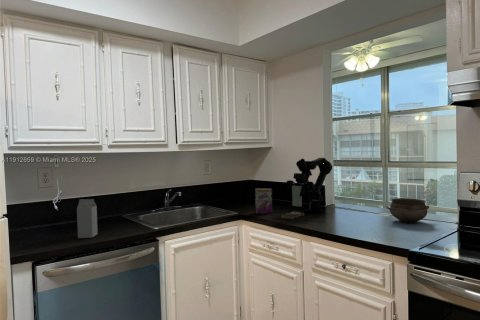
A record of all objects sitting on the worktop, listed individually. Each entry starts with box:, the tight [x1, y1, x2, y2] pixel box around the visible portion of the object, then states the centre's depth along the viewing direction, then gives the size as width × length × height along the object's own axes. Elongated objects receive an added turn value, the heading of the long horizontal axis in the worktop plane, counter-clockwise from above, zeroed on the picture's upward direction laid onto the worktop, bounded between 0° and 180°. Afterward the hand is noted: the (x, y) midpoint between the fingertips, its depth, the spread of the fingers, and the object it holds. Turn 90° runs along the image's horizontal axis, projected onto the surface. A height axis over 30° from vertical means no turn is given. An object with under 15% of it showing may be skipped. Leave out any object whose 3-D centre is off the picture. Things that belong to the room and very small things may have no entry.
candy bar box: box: [254, 188, 273, 215], centre depth 214 cm, size 11×5×16 cm, turn 84°
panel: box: [291, 186, 303, 207], centre depth 201 cm, size 2×6×12 cm, turn 48°
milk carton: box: [76, 198, 98, 239], centre depth 164 cm, size 7×7×19 cm
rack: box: [281, 211, 305, 220], centre depth 198 cm, size 13×8×2 cm, turn 138°
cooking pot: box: [386, 197, 430, 224], centre depth 181 cm, size 25×19×12 cm
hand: (295, 195), depth 200 cm, fingers closed on panel, 5 cm apart
